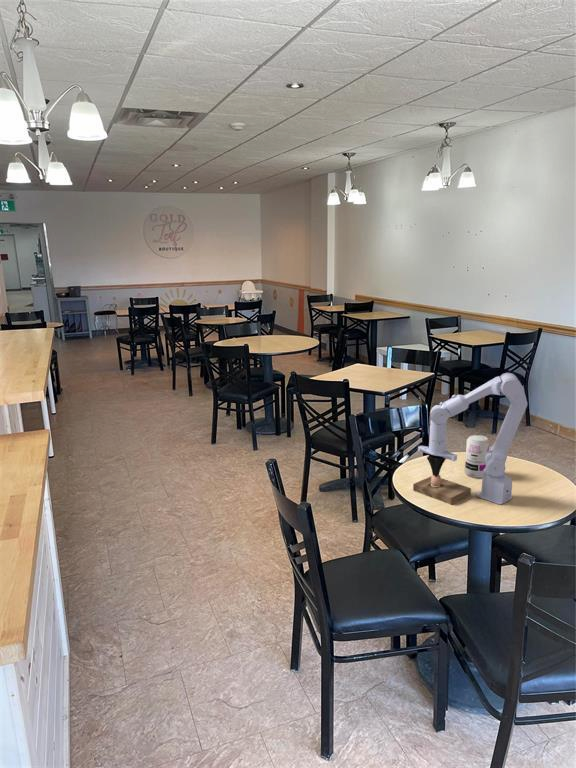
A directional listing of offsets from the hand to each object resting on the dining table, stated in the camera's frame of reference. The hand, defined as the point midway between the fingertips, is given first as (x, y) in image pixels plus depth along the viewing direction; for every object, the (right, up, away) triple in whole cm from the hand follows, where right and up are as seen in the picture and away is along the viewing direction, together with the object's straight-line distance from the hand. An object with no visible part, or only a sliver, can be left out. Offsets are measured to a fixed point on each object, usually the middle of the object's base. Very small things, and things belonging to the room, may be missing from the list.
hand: (435, 474), depth 198 cm
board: (+2, -6, +1) cm, 7 cm away
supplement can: (+20, -3, +16) cm, 26 cm away
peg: (0, -6, +1) cm, 6 cm away
